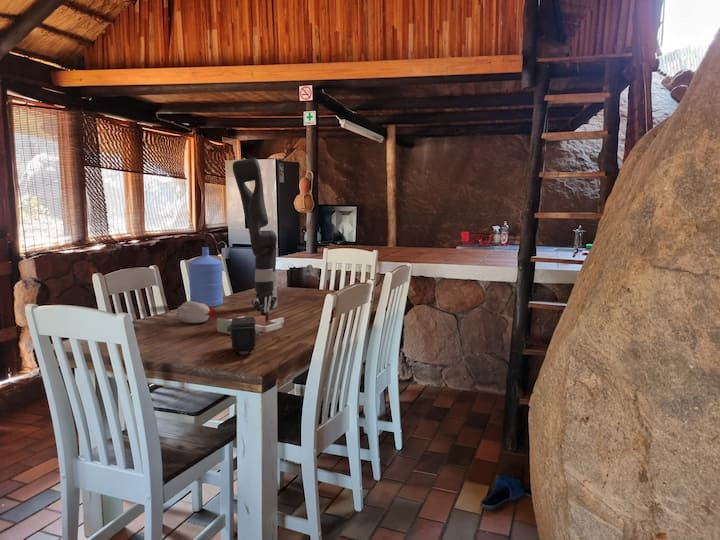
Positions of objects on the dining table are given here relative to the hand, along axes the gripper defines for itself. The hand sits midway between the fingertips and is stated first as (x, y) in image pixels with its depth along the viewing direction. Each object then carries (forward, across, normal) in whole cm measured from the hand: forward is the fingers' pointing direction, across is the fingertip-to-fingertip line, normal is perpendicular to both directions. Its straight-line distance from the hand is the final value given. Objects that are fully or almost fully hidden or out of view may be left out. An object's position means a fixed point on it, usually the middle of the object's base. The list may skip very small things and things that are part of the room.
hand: (264, 321), depth 224 cm
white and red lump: (+1, +14, -24) cm, 28 cm away
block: (+1, +5, 0) cm, 5 cm away
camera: (+1, +35, +23) cm, 42 cm away
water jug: (+1, -15, -52) cm, 54 cm away
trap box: (+1, +7, 0) cm, 7 cm away
